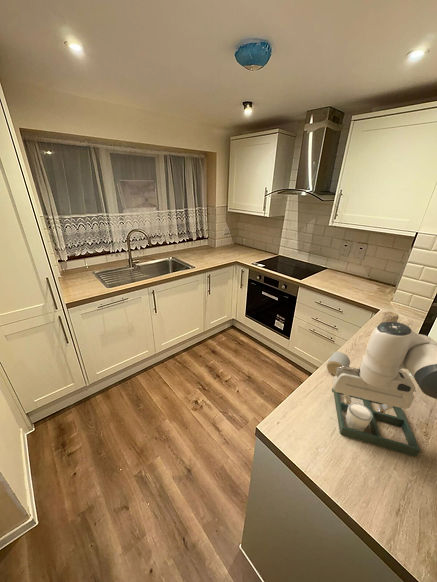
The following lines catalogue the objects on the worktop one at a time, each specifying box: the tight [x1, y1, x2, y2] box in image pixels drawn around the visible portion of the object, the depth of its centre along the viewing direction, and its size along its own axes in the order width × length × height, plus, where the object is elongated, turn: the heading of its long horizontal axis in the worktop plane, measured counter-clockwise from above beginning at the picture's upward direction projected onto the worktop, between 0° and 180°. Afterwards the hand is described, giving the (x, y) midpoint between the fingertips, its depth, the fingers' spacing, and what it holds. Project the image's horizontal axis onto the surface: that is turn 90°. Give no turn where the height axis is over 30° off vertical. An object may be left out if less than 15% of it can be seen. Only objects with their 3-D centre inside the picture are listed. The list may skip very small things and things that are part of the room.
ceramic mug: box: [326, 351, 351, 376], centre depth 99 cm, size 11×8×8 cm
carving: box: [379, 311, 400, 324], centre depth 129 cm, size 6×8×12 cm
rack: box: [331, 387, 421, 458], centre depth 79 cm, size 20×20×5 cm
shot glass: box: [344, 401, 373, 432], centre depth 76 cm, size 7×7×7 cm
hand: (363, 407), depth 73 cm, fingers open, 8 cm apart
